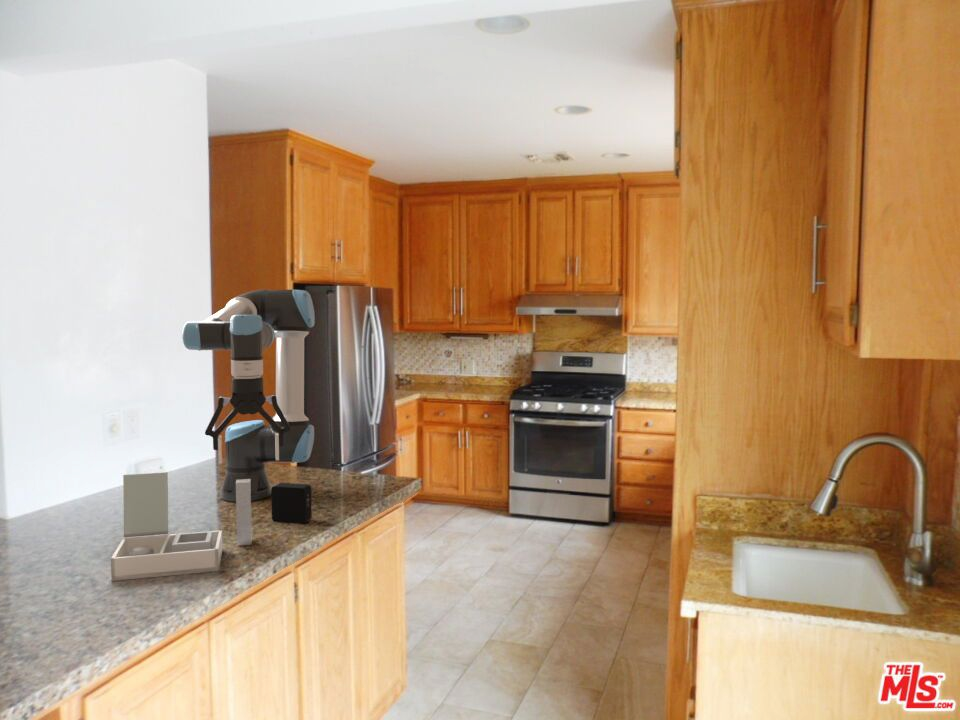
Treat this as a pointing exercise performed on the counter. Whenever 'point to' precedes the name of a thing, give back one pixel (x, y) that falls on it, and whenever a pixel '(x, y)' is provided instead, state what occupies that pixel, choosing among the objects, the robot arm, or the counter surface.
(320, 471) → the counter surface
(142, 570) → the housing
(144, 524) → the lid
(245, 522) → the rectangular gray bar
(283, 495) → the electronic device
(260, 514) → the counter surface
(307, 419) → the robot arm
